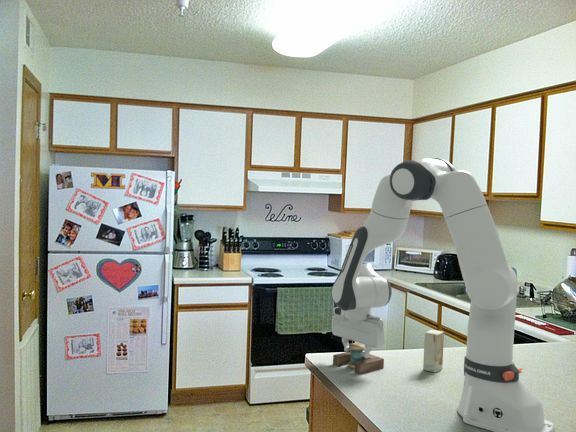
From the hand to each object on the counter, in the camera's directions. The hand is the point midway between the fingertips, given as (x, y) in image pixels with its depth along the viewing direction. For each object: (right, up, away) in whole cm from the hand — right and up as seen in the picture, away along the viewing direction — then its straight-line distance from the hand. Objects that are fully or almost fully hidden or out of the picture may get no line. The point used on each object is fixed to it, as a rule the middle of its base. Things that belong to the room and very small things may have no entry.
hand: (356, 354), depth 170 cm
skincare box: (+25, -5, 0) cm, 25 cm away
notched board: (+1, -4, +1) cm, 4 cm away
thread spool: (0, -4, 0) cm, 4 cm away
